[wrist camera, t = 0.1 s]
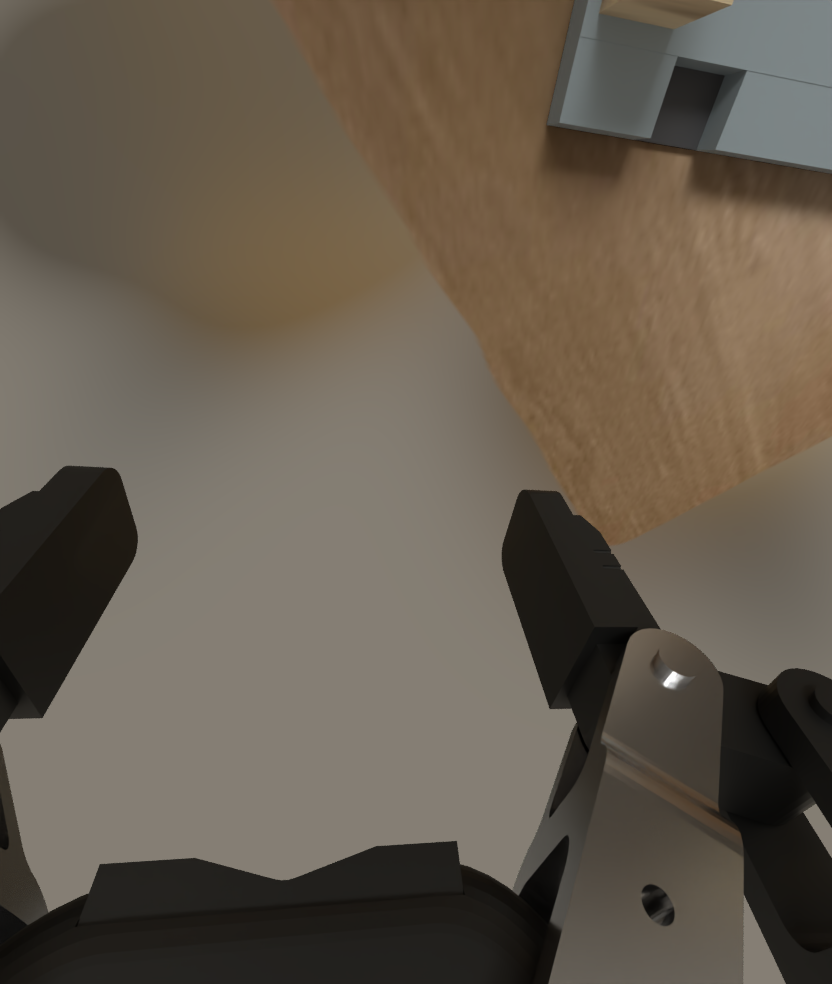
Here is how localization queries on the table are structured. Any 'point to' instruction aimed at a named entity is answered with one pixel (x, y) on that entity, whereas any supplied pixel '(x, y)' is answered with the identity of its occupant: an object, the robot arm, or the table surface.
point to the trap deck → (705, 81)
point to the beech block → (662, 10)
